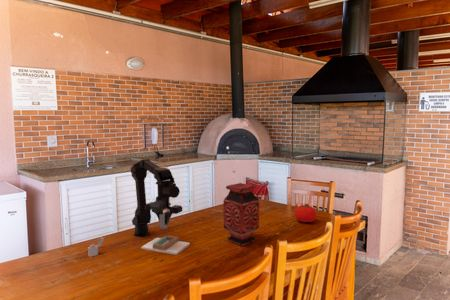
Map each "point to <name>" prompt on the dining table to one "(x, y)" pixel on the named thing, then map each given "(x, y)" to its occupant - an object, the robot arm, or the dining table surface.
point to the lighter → (94, 248)
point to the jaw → (161, 240)
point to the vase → (241, 213)
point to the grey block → (163, 221)
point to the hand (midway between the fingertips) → (163, 224)
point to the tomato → (305, 213)
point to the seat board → (167, 245)
